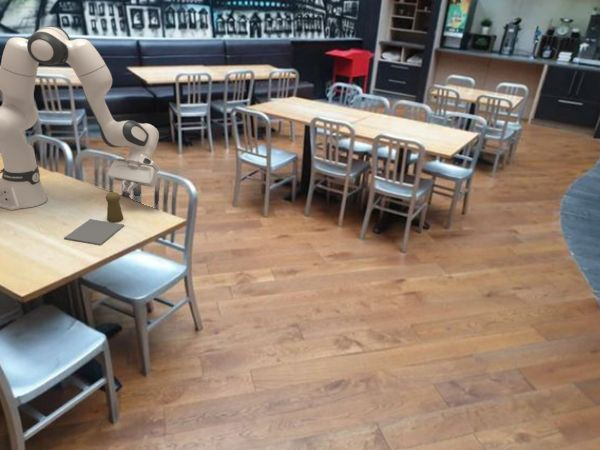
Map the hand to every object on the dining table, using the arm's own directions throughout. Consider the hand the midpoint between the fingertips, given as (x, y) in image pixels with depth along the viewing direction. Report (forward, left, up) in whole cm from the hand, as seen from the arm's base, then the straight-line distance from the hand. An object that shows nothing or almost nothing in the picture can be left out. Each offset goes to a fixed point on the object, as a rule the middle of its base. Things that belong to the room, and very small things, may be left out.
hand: (125, 192), depth 182 cm
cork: (-1, -8, -9) cm, 12 cm away
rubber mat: (-2, -20, -8) cm, 22 cm away
